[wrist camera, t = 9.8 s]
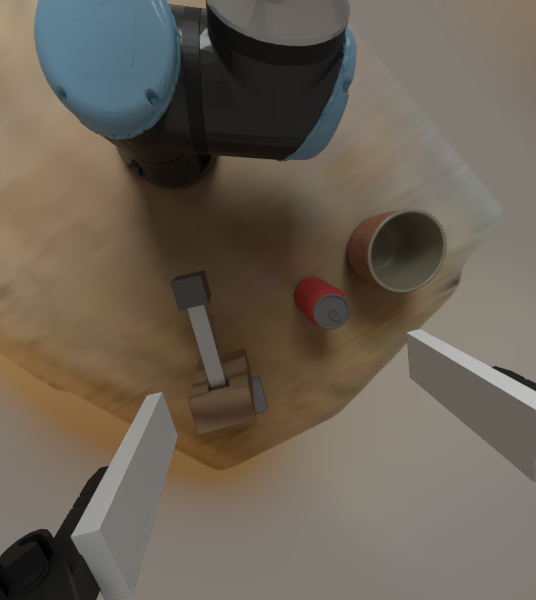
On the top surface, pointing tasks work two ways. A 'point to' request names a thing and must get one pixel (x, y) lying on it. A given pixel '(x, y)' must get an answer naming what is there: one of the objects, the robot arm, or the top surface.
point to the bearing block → (223, 396)
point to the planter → (398, 249)
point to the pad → (258, 395)
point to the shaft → (201, 323)
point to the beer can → (322, 303)
